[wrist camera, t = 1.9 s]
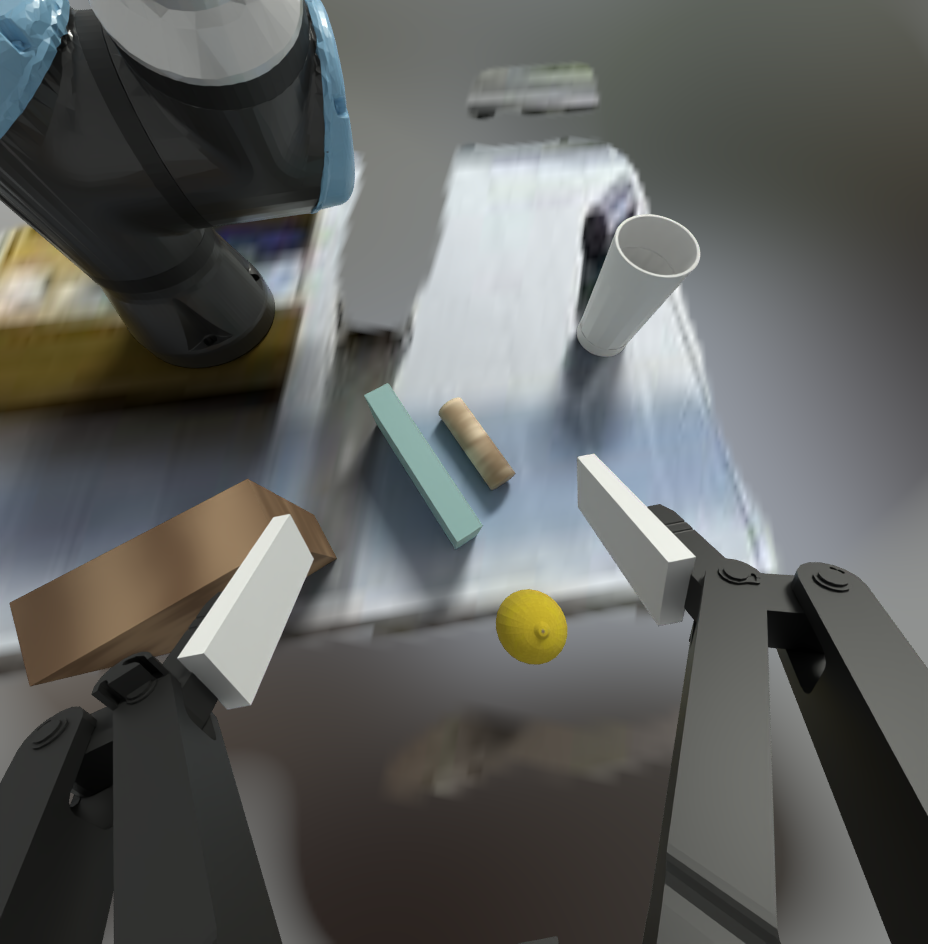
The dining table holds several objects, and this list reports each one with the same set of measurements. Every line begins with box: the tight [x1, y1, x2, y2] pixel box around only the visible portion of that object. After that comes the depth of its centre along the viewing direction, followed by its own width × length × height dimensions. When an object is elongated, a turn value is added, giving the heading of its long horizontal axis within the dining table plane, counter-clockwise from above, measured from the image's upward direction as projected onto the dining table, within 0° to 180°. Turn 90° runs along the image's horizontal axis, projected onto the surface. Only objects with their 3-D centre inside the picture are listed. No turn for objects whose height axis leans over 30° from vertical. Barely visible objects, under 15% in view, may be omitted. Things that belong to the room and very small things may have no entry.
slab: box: [10, 479, 337, 686], centre depth 26 cm, size 14×5×12 cm, turn 123°
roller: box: [439, 398, 515, 490], centre depth 36 cm, size 10×3×3 cm
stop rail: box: [364, 383, 483, 550], centre depth 33 cm, size 2×16×6 cm, turn 33°
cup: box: [577, 214, 700, 357], centre depth 37 cm, size 8×8×12 cm
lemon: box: [496, 589, 567, 664], centre depth 28 cm, size 6×6×8 cm
